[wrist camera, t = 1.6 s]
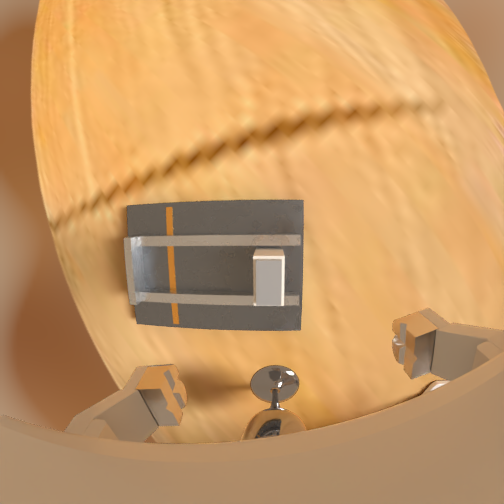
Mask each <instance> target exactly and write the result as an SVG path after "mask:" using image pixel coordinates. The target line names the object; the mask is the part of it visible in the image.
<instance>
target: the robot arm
mask: <svg viewBox="0 0 504 504" xmlns="http://www.w3.org/2000/svg"><path fill="white" fill-rule="evenodd" d="M392 330H393V332H394V333H395V334H396V335H395V337H394V339H393V340H392V349H393V353H394V356H395V359H396V360H397V362H398V363H400V364H403V365H404V371H405V372H406V373H407V375H408V376H409V377H410V379H414V378H417V377H419V376H422V375H424V374H427V373H430V372H431V373H432V374H434V375H437V376H439V377H441V378H444V379H446V380H447V381H435V382H433V383H432V384H431V385H430V386H429V387H428V388H427V389H426V390H425V391H424V393H423V394H422V395H420V396H418V397H415V398H413V399H410V400H408V401H405V402H403V403H400V404H397V405H395V406H392V407H389V408H386V409H383V410H381V411H378V412H375V413H372V414H368V415H365V416H362V417H359V418H355V419H352V420H348V421H345V422H341V423H337V424H333V425H329V426H325V427H321V428H317V429H312V430H307V431H302V432H297V433H292V434H286V435H280V436H274V437H267V438H260V439H252V440H242V441H232V442H218V443H194V444H168V443H144V441H145V440H146V439H147V438H148V437H149V436H150V435H151V434H152V433H153V432H154V431H155V430H156V429H157V428H158V426H179V425H180V422H181V419H182V415H183V412H182V410H181V409H182V408H183V407H184V406H185V405H186V401H187V393H186V389H185V386H184V384H183V382H182V381H180V380H179V379H178V375H179V372H178V370H177V367H176V366H175V365H173V364H170V365H154V366H139V367H137V368H136V369H135V371H134V372H133V374H132V376H131V377H130V379H129V380H128V382H127V384H126V385H125V387H124V389H123V390H118V391H117V392H115V393H113V394H112V395H110V396H108V397H107V398H105V399H103V400H102V401H100V402H98V403H97V404H95V405H93V406H91V407H89V408H88V409H86V410H84V411H83V412H81V413H79V414H77V415H76V416H74V418H73V419H72V421H71V422H70V424H69V425H68V427H67V428H66V429H65V431H64V432H63V431H59V430H54V429H50V428H46V427H42V426H38V425H35V424H31V423H27V422H25V421H21V420H18V419H15V418H12V417H9V416H6V415H0V504H504V330H498V329H491V328H484V327H477V326H471V325H464V324H458V323H451V324H450V323H448V322H447V321H446V320H444V319H443V318H442V317H440V316H439V315H438V314H436V313H435V312H434V311H432V310H431V309H430V308H425V309H423V310H420V311H418V312H415V313H413V314H410V315H407V316H404V317H402V318H399V319H396V320H394V321H393V329H392Z"/></svg>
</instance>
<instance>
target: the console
mask: <svg viewBox="0 0 504 504" xmlns="http://www.w3.org/2000/svg"><path fill="white" fill-rule="evenodd" d="M127 224H128V237H126V238H124V253H125V266H126V276H127V286H128V295H129V303H130V304H131V305H134V307H135V314H136V321H137V324H144V325H155V326H167V327H181V328H197V329H218V330H256V331H292V330H301V312H302V286H303V228H304V212H303V200H234V201H201V202H178V203H159V204H143V205H129V206H127ZM256 248H282V249H283V252H284V255H285V274H284V306H254V292H253V255H254V252H255V250H256Z"/></svg>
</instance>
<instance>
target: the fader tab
mask: <svg viewBox="0 0 504 504" xmlns="http://www.w3.org/2000/svg"><path fill="white" fill-rule="evenodd" d="M284 274H285V255H284V252H283V249H282V248H256V250H255V252H254V255H253V292H254V306H284Z"/></svg>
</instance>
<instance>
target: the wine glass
mask: <svg viewBox="0 0 504 504" xmlns="http://www.w3.org/2000/svg"><path fill="white" fill-rule="evenodd" d="M298 388H299V379H298V377H297V375H296V374H295V373H294V372H293V371H292V370H291V369H289V368H287V367H284V366H278V365H273V366H267V367H264V368H262V369H260V370H259V371H257V372H256V373H255V374H254V376H253V378H252V380H251V389H252V392H253V393H254V395H255V396H256V397H257V398H259V399H260V400H262V401H265V402H268V403H271V406H270V408H269V409H265V410H263V411H261V412H259V413H257V414H255V415H254V416H253V417H252V418H251V419H250V420H249V422H248V423H247V425H246V427H245V429H244V431H243V433H242V436H241V439H240V441H242V440H252V439H260V438H267V437H274V436H280V435H286V434H292V433H297V432H302V431H307V429H306V426H305V425H304V423H303V421H302V420H301V419H300V417H299V416H298V415H296V414H295V413H293V412H291V411H289V410H287V409H283V408H280V405H279V403H281V402H284V401H287V400H289V399H290V398H292V397H293V396H294V395H295V394H296V392H297V391H298Z"/></svg>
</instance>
